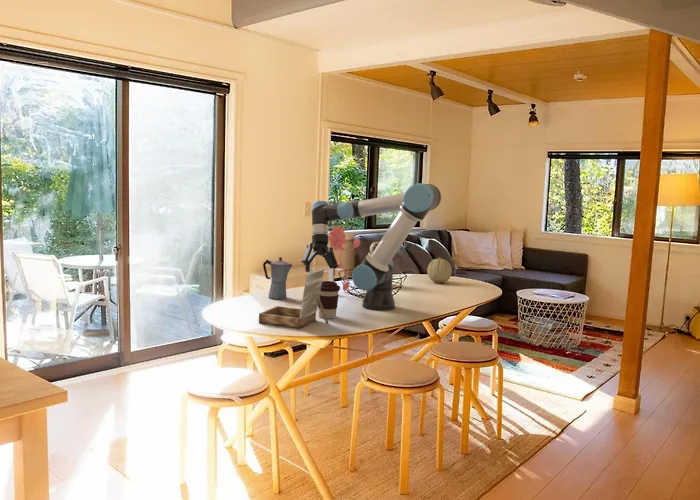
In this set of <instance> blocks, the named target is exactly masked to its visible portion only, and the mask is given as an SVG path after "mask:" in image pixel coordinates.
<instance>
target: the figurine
mask: <svg viewBox="0 0 700 500" xmlns="http://www.w3.org/2000/svg"><path fill="white" fill-rule="evenodd" d="M345 231H346V229H345V227H341V226H340V225H337V226H336V225H334V226H333V228H332V230H330V231H328V239H329V242H330V243H329V247H333V251H334V252H337V251H340V252H339V253H338V261H337V264H338V267H337V268H335V271H336V270H337V269H341V268H343V269H345V270H347V273H346V281H345V282H344V284H342V290H343V291H344V292H346V289H347V290H348V294H350V295H351V292H350V287H349V286H350V282H349V281H348V275H349V269H348V268H346V267H343V266H342V265H343V264H342V263H340V259H341V253H342V252H343V251H344V250H345V251H347V252H351V253H352V252H353V250H354V248H355V249H357V248H358V247H359V246H360V245H361V240H360V238H355V240H354V241H353V243H352V244H353V247H352V249H351V250H350V249H347V248H344V246H343V245H345V244H347V242H346V241H347V239H346V237H347V236H346V233H345ZM349 292H350V293H349Z"/></svg>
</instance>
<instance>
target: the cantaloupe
mask: <svg viewBox="0 0 700 500" xmlns="http://www.w3.org/2000/svg"><path fill="white" fill-rule="evenodd" d="M426 273H427V277H428V278H429V279H430V281H432V282H433V283H436V284H444V283H446V282H448V281H449V280H450V278H451V277H452V275H453V266H452V265H451V263H450V262H449V261H448V260H446V259H444V258H441V257H440V256H439V257H438V258H434V259H432V260H431V262H429V264H428V266H427V270H426Z"/></svg>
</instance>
